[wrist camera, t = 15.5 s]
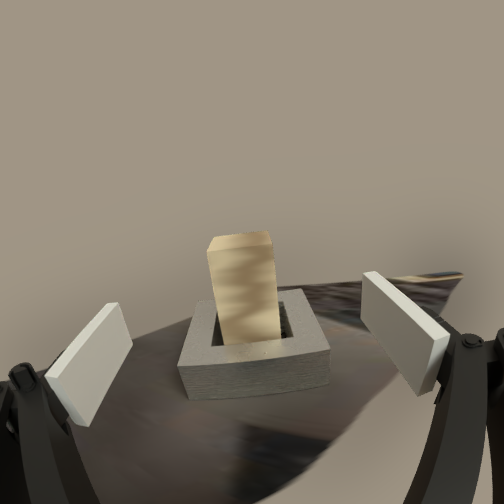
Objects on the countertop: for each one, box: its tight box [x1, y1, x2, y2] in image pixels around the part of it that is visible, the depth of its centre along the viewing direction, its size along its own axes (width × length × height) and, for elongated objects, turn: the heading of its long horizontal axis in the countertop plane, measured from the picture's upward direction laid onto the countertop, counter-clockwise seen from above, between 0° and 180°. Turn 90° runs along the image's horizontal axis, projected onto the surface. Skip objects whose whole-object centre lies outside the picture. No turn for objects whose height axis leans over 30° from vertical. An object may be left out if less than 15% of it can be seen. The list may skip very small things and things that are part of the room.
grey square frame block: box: [177, 289, 331, 400], centre depth 26 cm, size 12×12×4 cm
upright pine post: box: [207, 231, 281, 345], centre depth 25 cm, size 5×5×12 cm
